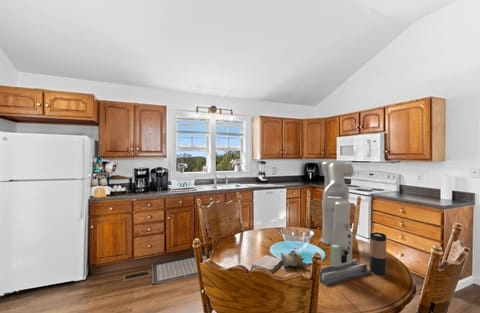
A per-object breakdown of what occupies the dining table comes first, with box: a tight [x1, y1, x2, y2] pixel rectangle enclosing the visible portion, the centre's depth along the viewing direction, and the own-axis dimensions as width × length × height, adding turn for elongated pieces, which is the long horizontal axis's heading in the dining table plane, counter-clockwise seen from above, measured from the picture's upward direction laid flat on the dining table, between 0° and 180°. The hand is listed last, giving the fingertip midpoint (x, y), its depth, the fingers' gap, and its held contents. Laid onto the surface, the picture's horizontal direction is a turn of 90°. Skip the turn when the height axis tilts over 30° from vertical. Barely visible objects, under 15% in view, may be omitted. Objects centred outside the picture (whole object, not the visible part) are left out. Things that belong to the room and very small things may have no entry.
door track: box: [309, 258, 372, 287], centre depth 126 cm, size 30×12×4 cm, turn 115°
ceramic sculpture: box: [280, 250, 311, 269], centre depth 135 cm, size 11×9×15 cm
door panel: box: [329, 244, 353, 267], centre depth 126 cm, size 12×3×10 cm, turn 115°
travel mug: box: [369, 232, 387, 276], centre depth 129 cm, size 8×8×20 cm
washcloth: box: [251, 255, 283, 274], centre depth 135 cm, size 12×18×3 cm, turn 148°
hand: (341, 260), depth 126 cm, fingers closed on door panel, 3 cm apart
